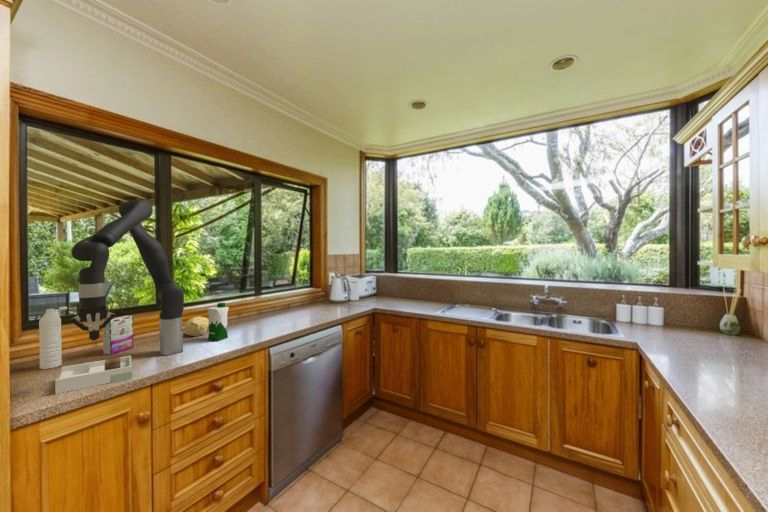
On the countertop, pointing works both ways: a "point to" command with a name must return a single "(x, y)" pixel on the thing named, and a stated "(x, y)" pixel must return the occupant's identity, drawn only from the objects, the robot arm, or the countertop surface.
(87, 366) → the track
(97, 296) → the robot arm
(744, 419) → the countertop surface
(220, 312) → the milk carton
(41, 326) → the water bottle
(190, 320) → the sculpture
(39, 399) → the countertop surface
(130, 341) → the candy bar box
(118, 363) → the walnut block
